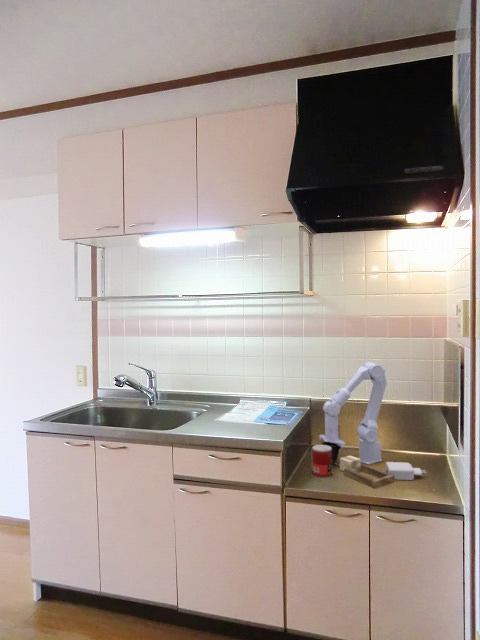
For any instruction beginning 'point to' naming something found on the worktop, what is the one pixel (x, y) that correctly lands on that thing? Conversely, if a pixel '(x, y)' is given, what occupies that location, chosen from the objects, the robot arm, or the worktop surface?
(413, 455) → the worktop surface
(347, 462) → the cream grey uneven dumbbell
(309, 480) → the worktop surface
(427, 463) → the worktop surface
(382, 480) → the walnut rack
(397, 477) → the charger
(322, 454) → the canned food
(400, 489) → the worktop surface
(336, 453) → the robot arm
